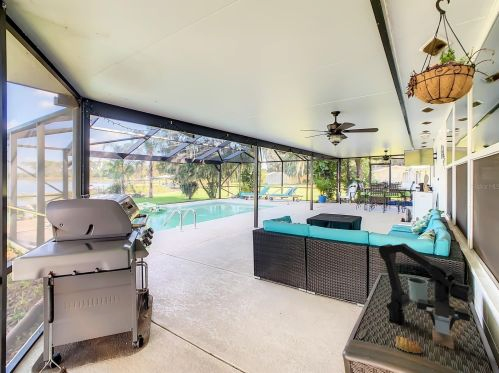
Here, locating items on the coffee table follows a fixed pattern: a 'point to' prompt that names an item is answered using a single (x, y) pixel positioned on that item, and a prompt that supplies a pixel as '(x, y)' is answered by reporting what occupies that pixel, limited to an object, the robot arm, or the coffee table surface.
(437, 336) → the walnut block
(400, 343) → the pastry
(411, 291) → the drinking glass
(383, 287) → the coffee table surface
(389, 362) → the coffee table surface
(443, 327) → the cube
